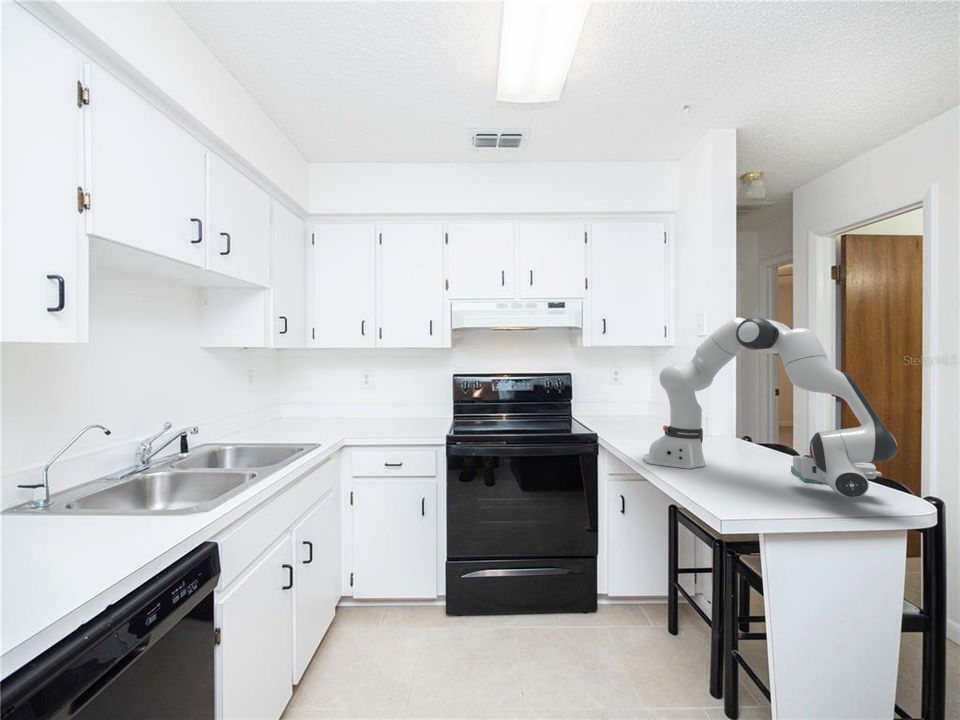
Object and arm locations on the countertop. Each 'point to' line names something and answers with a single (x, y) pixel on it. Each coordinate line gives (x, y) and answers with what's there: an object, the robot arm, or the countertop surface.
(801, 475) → the tray
